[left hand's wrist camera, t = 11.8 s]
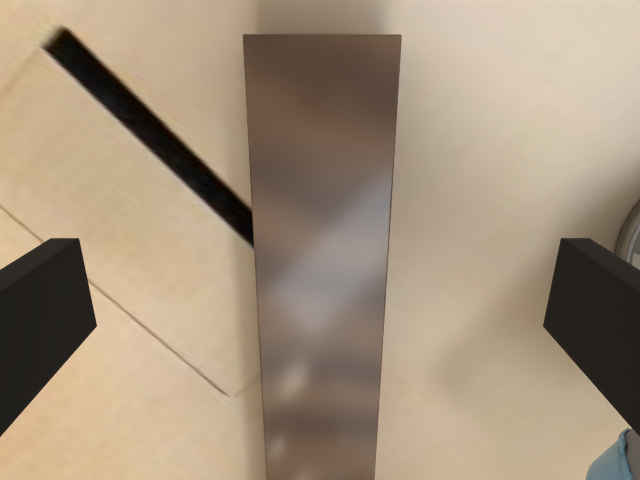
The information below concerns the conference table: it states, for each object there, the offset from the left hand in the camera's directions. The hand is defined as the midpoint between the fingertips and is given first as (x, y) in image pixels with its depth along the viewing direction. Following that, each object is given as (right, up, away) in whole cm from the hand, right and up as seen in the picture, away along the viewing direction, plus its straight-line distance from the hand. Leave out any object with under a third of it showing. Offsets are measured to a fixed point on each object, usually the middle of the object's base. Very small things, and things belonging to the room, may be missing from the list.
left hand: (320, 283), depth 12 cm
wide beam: (0, -20, +34) cm, 40 cm away
